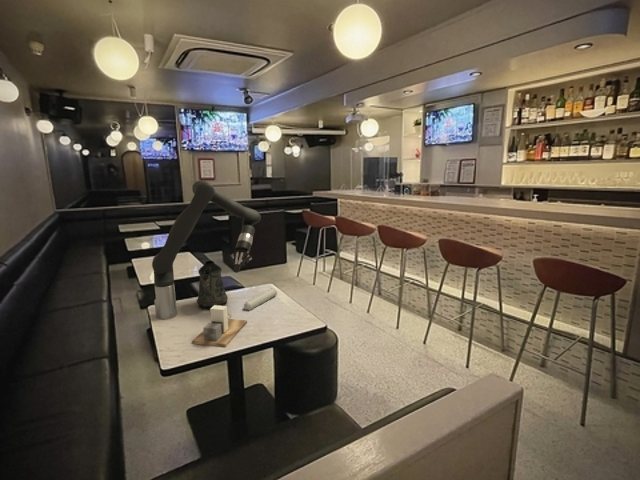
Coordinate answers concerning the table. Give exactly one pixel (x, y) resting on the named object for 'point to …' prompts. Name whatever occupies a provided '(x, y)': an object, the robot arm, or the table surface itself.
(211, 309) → the sleeve
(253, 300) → the tube
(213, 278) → the beer stein
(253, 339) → the table surface
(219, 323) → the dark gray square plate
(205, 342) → the pipe stand
